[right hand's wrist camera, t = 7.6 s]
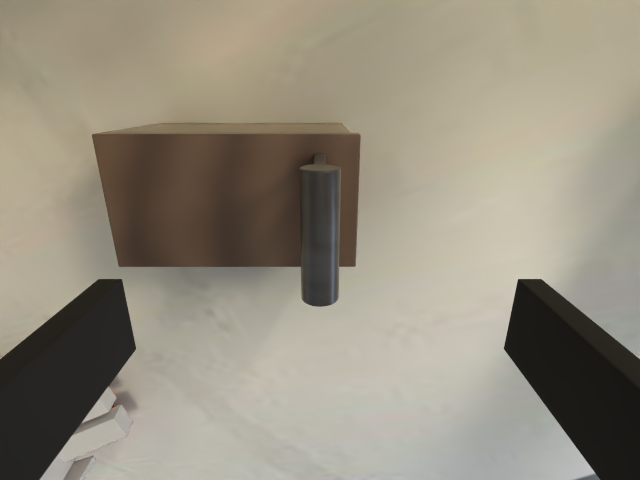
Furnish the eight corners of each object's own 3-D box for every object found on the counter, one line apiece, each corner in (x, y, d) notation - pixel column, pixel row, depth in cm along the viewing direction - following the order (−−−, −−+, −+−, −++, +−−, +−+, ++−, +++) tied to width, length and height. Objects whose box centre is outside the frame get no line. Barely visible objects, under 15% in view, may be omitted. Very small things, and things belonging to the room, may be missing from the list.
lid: (359, 132, 25) (377, 148, 17) (354, 261, 28) (368, 323, 20) (99, 132, 25) (-2, 148, 17) (125, 261, 28) (50, 324, 20)
